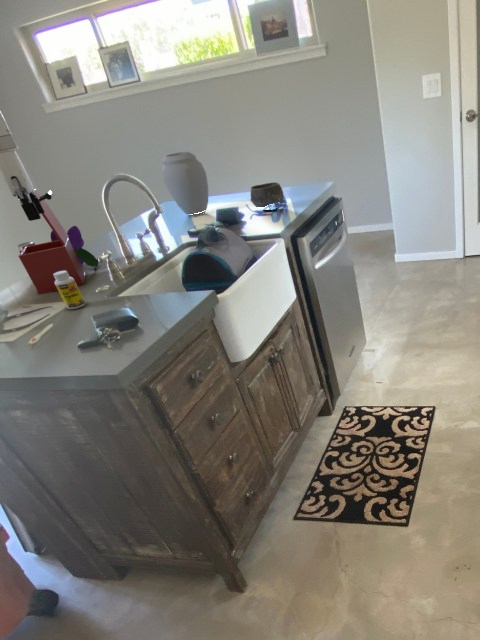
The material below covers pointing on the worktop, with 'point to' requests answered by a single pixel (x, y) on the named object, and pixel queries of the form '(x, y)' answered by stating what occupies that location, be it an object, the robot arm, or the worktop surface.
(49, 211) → the lid
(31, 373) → the worktop surface
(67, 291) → the supplement bottle
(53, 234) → the flower
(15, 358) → the worktop surface
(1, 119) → the robot arm
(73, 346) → the worktop surface
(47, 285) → the red hollow box
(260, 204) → the bowl
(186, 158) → the vase
